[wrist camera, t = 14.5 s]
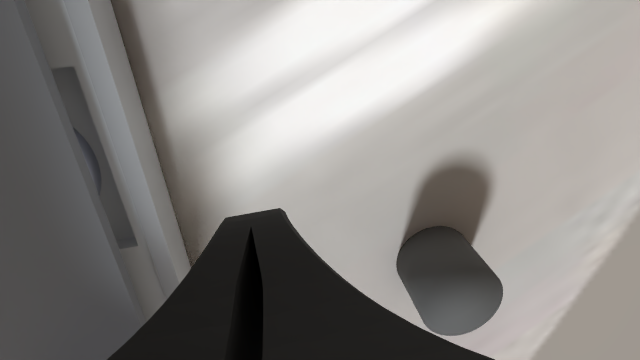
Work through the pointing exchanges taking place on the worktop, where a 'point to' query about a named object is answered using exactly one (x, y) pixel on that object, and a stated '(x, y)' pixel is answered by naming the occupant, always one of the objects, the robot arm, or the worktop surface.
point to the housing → (52, 220)
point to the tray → (115, 140)
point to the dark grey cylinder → (448, 281)
